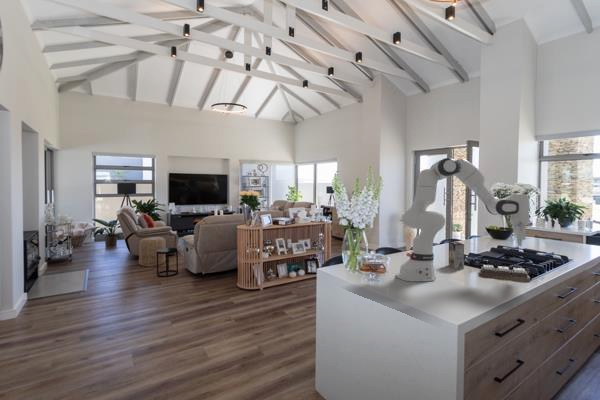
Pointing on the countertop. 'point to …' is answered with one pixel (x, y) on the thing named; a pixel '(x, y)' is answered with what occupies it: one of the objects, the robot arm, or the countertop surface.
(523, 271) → the button two
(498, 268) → the button one
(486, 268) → the button three
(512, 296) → the countertop surface
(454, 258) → the coffee box
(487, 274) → the button board
